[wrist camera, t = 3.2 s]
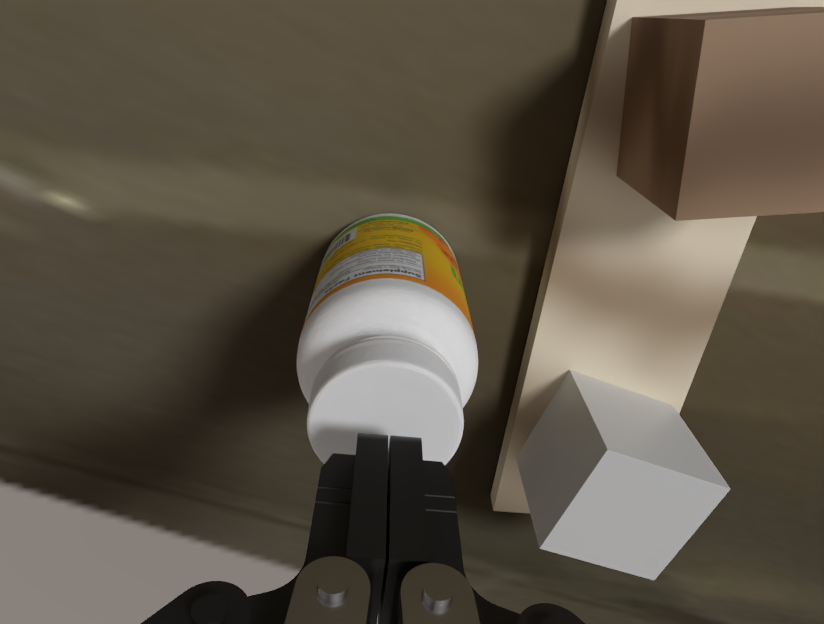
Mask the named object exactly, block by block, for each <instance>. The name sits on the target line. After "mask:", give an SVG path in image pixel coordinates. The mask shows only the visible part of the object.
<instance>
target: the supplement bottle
mask: <svg viewBox="0 0 824 624" xmlns="http://www.w3.org/2000/svg"><path fill="white" fill-rule="evenodd" d="M296 365H297V375H298V380H299V384H300V387H301V390H302V392H303V395H304V397H305V399H306V400H307V402H308V404H309V409H308V414H307V432H308V437H309V440H310V443H311V446H312V448H313V450H314V451H315V453H316V454H317V456H318V457H319V459H320V460H321V461H322V462H323V463H324V464H325V462H326V461H327V460H328V459H329V457H330V456H331V455H332V454H333V453H337V454H349V455H356V446H357V436H358V433H367V434H379V435H388V449H389V441H390V436H391V435H393V436H405V437H417V438H421V440H422V454H423V460H426V461H439V462H443V464H444V466H445V465H446V464H447V463H448V461H449V460H450V459H451V458H452V457H453V455H454V454H455V452H456V450H457V449H458V446H459V444H460V441H461V439H462V434H463V427H464V417H463V407H464V406H465V404H466V403H467V401H468V400H469V398H470V396H471V394H472V391H473V389H474V386H475V382H476V378H477V373H478V352H477V346H476V340H475V336H474V331H473V327H472V323H471V318H470V314H469V310H468V306H467V301H466V297H465V293H464V289H463V285H462V280H461V276H460V272H459V268H458V264H457V261H456V258H455V256H454V253H453V251H452V249H451V248H450V246H449V244H448V243H447V241H446V240H445V239H444V238H443V236H442V235H441V234H440V233H439V232H438V231H436V230H435V229H434V228H433V227H431V226H430V225H428V224H427V223H425V222H423V221H421V220H419V219H416V218H413V217H411V216H406V215H401V214H391V213H387V214H376V215H372V216H368V217H365V218H363V219H360V220H358V221H356V222H354V223H353V224H351V225H349V226H348V227H347V228H345V229H344V230H343V231H342V232H341V233H340V234H339V235H338V236H337V237H336V238H335V239H334V240H333V242H332V243H331V245H330V246H329V248H328V250H327V252H326V254H325V256H324V259H323V261H322V264H321V267H320V270H319V274H318V277H317V281H316V284H315V288H314V291H313V295H312V298H311V302H310V305H309V309H308V312H307V315H306V319H305V322H304V325H303V328H302V331H301V335H300V339H299V344H298V351H297V364H296Z"/></svg>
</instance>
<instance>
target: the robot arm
mask: <svg viewBox="0 0 824 624" xmlns="http://www.w3.org/2000/svg"><path fill="white" fill-rule="evenodd" d="M456 511H457V510H456V501H455V493H454V484H453V478H452V476H451V475H450V473H449V472H448V470H447V469H446V467H445V466H444V464H443V462H439V461H426V460H423V454H422V440H421V438H417V437H405V436H393V435H391V436H390V441H389V449H388V435H379V434H367V433H358V436H357V446H356V455H349V454H337V453H333V454H332V455H331V456H330V457H329V459H328V460H327V461H326V462H325V464H324V465H323V466H322V467H321V472H320V478H319V483H318V489H317V495H316V502H315V507H314V513H313V519H312V525H311V531H310V537H309V543H308V548H307V554H306V559H305V563H304V565H303V567H302V569H301V570H300V572H299V573H298V574H297V576H296V577H295V578H294V579H292V580H291V581H290V582H289V583H287V584H286V585H284V586H282V587H280V588H278V589H276V590H273V591H269V592H265V593H261V594H257V595H252V596H248V597H247V595H246V594H245V593H244V592H243V590H242V589H240V588H239V587H237V586H236V585H234V584H231V583H228V582H223V581H210V582H205V583H201V584H198V585H196V586H194V587H191V588H190V589H188V590H187V591H185V592H184V593H183V594H181V595H179V596H178V597H177V598H175V599H174V600H173V601H171V602H170V603H169V604H167V605H166V606H164V607H163V608H162V609H160V610H159V611H157V612H156V613H155V614H153V615H152V616H151V617H149V618H148V619H147V620H145V621H144V622H143V623H141V624H377V617H378V624H585V623H584V622H583V621H581V620H580V619H579V618H578V617H577V616H576V615H575V614H573V613H572V612H570V611H569V610H567V609H565V608H563V607H561V606H558V605H554V604H549V603H540V604H535V605H532V606H530V607H528V608H526V609H525V610H524V611H523V612H522V613H521V614H518V613H515V612H513V611H510V610H507V609H505V608H502V607H499V606H497V605H495V604H492V603H490V602H489V601H487V600H485V599H484V598H483V597H481V596H480V595H479V594H478V593H477V592H476V591H475V590H474V589H473V588H472V586H471V585H470V583H469V582H468V580H467V578H466V576H465V573H464V568H463V560H462V552H461V544H460V535H459V527H458V518H457V514H456Z"/></svg>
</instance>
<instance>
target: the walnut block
mask: <svg viewBox="0 0 824 624" xmlns="http://www.w3.org/2000/svg"><path fill="white" fill-rule="evenodd" d="M616 176H617V177H619V178H620V179H621V180H623V181H624V182H625V183H627V184H628V185H629V186H630V187H632V188H633V189H634V190H636V191H637V192H638V193H640V194H641V195H642V196H644V197H645V198H646V199H647V200H649V201H650V202H651V203H653V204H654V205H655V206H657V207H658V208H659V209H661V210H662V211H663V212H665V213H666V214H667V215H668V216H670V217H671V218H672V219H674V220H675V221H682V220H699V219H715V218H731V217H748V216H764V215H781V214H797V213H813V212H824V7H785V8H769V9H754V10H738V11H722V12H706V13H690V14H675V15H659V16H643V17H632V24H631V34H630V44H629V54H628V64H627V74H626V84H625V94H624V104H623V114H622V124H621V135H620V145H619V155H618V165H617V175H616Z"/></svg>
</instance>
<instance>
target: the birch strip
mask: <svg viewBox="0 0 824 624" xmlns="http://www.w3.org/2000/svg"><path fill="white" fill-rule="evenodd" d="M785 7H824V0H607V2H606V7H605V11H604V15H603V19H602V24H601V28H600V32H599V36H598V40H597V45H596V49H595V53H594V57H593V62H592V66H591V70H590V74H589V79H588V83H587V87H586V91H585V96H584V100H583V104H582V108H581V113H580V117H579V121H578V125H577V130H576V134H575V138H574V142H573V147H572V151H571V155H570V159H569V164H568V168H567V172H566V176H565V181H564V185H563V189H562V193H561V197H560V202H559V206H558V210H557V214H556V219H555V223H554V227H553V231H552V236H551V240H550V244H549V248H548V253H547V257H546V261H545V265H544V270H543V274H542V278H541V282H540V287H539V291H538V295H537V299H536V304H535V308H534V312H533V316H532V321H531V325H530V329H529V333H528V338H527V342H526V346H525V350H524V354H523V359H522V363H521V367H520V371H519V376H518V380H517V384H516V388H515V393H514V397H513V401H512V405H511V410H510V414H509V418H508V422H507V427H506V431H505V435H504V439H503V444H502V448H501V452H500V456H499V461H498V465H497V469H496V473H495V478H494V482H493V486H492V490H491V495H490V496H491V502H492V507H493V511H503V512H516V513H530V510H529V506H528V503H527V499H526V495H525V491H524V487H523V484H522V480H521V476H520V472H519V468H518V465H517V461H516V457H517V455H518V454H519V452H520V450H521V449H522V447H523V446H524V444H525V442H526V441H527V439H528V437H529V436H530V434H531V432H532V431H533V429H534V427H535V426H536V424H537V422H538V421H539V419H540V417H541V416H542V414H543V413H544V411H545V409H546V408H547V406H548V404H549V403H550V401H551V399H552V398H553V396H554V394H555V393H556V391H557V389H558V388H559V386H560V384H561V383H562V381H563V380H564V378H565V376H566V375H567V373H568V371H569V370H572V371H575V372H578V373H581V374H584V375H587V376H590V377H593V378H596V379H598V380H601V381H604V382H607V383H610V384H613V385H616V386H619V387H622V388H625V389H627V390H630V391H633V392H636V393H639V394H642V395H645V396H648V397H651V398H654V399H656V400H659V401H662V402H665V403H668V404H671V405H673V407H674V408H675V409H676V411H677V412H678V414H679V413H680V410H681V408H682V405H683V403H684V400H685V398H686V395H687V393H688V390H689V388H690V385H691V382H692V380H693V377H694V375H695V372H696V370H697V367H698V365H699V362H700V360H701V357H702V354H703V352H704V349H705V347H706V344H707V342H708V339H709V337H710V334H711V332H712V329H713V326H714V324H715V321H716V319H717V316H718V314H719V311H720V309H721V306H722V304H723V301H724V298H725V296H726V293H727V291H728V288H729V286H730V283H731V281H732V278H733V276H734V273H735V270H736V268H737V265H738V263H739V260H740V258H741V255H742V253H743V250H744V248H745V245H746V242H747V240H748V237H749V235H750V232H751V230H752V227H753V225H754V222H755V220H756V217H757V216H748V217H731V218H715V219H699V220H682V221H675V220H674V219H672V218H671V217H670V216H668V215H667V214H666V213H665V212H663V211H662V210H661V209H659V208H658V207H657V206H655V205H654V204H653V203H651V202H650V201H649V200H647V199H646V198H645V197H644V196H642V195H641V194H640V193H638V192H637V191H636V190H634V189H633V188H632V187H630V186H629V185H628V184H627V183H625V182H624V181H623V180H621V179H620V178H619V177H617V176H616V175H617V165H618V155H619V145H620V135H621V124H622V114H623V104H624V94H625V84H626V74H627V64H628V54H629V44H630V34H631V24H632V17H643V16H659V15H675V14H690V13H706V12H722V11H738V10H754V9H769V8H785Z"/></svg>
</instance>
